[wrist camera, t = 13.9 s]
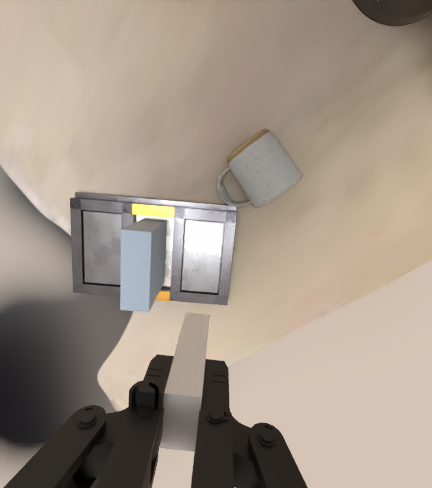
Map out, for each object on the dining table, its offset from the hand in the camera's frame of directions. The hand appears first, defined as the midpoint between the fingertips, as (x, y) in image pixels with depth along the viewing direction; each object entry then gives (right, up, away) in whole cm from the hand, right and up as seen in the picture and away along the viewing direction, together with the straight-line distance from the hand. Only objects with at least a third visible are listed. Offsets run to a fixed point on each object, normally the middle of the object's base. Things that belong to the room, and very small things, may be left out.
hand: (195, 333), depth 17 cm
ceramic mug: (+7, +16, +24) cm, 29 cm away
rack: (-8, +5, +26) cm, 28 cm away
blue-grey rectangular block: (-8, +4, +25) cm, 27 cm away
